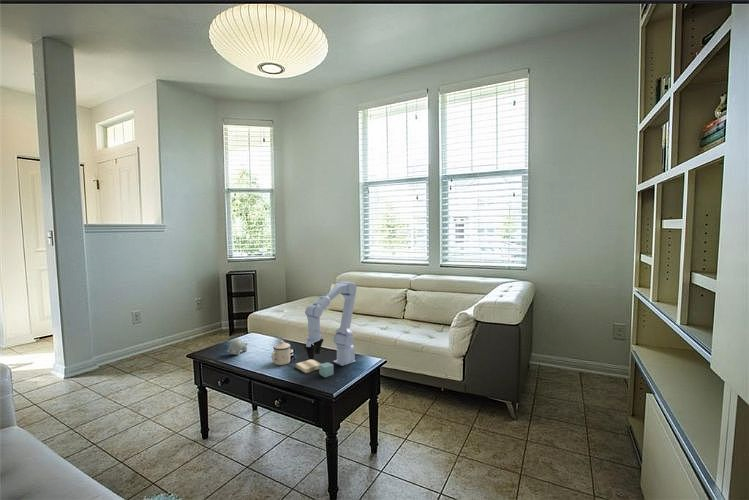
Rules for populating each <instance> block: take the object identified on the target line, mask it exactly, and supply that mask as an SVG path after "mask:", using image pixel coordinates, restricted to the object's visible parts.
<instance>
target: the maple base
mask: <svg viewBox="0 0 749 500" xmlns="http://www.w3.org/2000/svg"><path fill="white" fill-rule="evenodd" d="M320 364H322V363H321V362H319V361H317V360H315V359H313V360H311V359H307V360H304V361H300V362H297V363H295V368H296V369H297V370H299V371H301V372H303V373H304V374H308V373H311V372H314V371H319V365H320Z"/></svg>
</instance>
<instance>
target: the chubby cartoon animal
mask: <svg viewBox="0 0 749 500" xmlns="http://www.w3.org/2000/svg"><path fill="white" fill-rule="evenodd" d="M248 349H249V346H248V343H247V342H246V343H245V341H242V340H240V339H236V338H235V339H233V340H232V341H231V342H230V343H229V348H228V349H227V351H226V353H227V354H231V355H235V356H239V355H240V353H241V351H242V352H244V353H245V352H247V351H248Z"/></svg>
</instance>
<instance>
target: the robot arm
mask: <svg viewBox="0 0 749 500" xmlns="http://www.w3.org/2000/svg"><path fill="white" fill-rule="evenodd" d="M356 293H357V285H356V283H355V282H353V281H344V280H338V281H337V282H336V283H335V284H334V287H333V288H332V289H331V290H330V291H329V292H327V294H326V295H321V296H319V298H318V299H317V300H316V301H315V302H313V304H309V305H308V306H307V307H306V308H305V311H304V313H305V315H306V319H307V337H305V340H307V341H306V343H305V344H304V345H303V347H304V349H305V351H306V353H307V357H308V360H310V359H311V360H315V354H316V355H319V354H320V353H321V348H322V345H323V342H324V341H325V339H324V338H322V337H323V335H322V333H321V332H320V331H321V319H320V318H321V317H322V315H323V312H324V310H325V309H326V308H328V307H329V306H330V305H331V301H333V300H334V299H335V298H336V297H338V296H339V295H341V296H342V297H343V299H344V303H343V309H342V313H341V314H342V316H341V320H340V325H339V327H338V328H337V329H336V330H335V334H334V335H333V343H334V344H335V346H336V360H335V359H334V360H333V362H334V363H335V364H337V365H340V366H346V365H349V364H352V363H356V360H355V359H356V358H355V357H356V356H355V355H356V350H355V346H354V345H353V343H354V332H353V331H352V329H351V326H352V317H353V312H354V306H355V300H356Z"/></svg>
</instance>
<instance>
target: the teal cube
mask: <svg viewBox="0 0 749 500" xmlns="http://www.w3.org/2000/svg"><path fill="white" fill-rule="evenodd" d="M334 369H335V368H334V364H333V363H330V362H324V363H321V364H320V365H319V369H318V372H319V375H320V376H322V377H324V378H328V377H331V376H333V375H334V374H335V373H334Z"/></svg>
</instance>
